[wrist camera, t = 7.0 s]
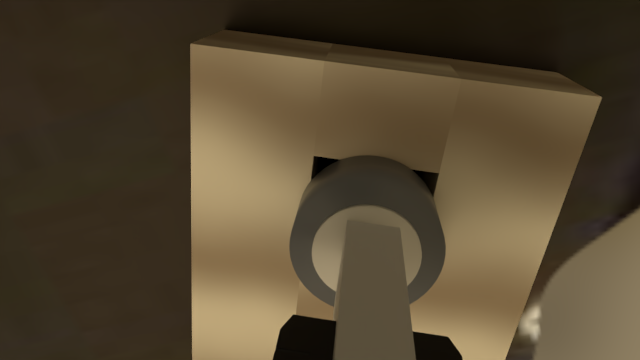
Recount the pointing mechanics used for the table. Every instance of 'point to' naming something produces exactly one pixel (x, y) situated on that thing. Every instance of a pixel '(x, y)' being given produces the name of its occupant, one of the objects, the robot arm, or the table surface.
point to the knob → (369, 207)
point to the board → (376, 140)
